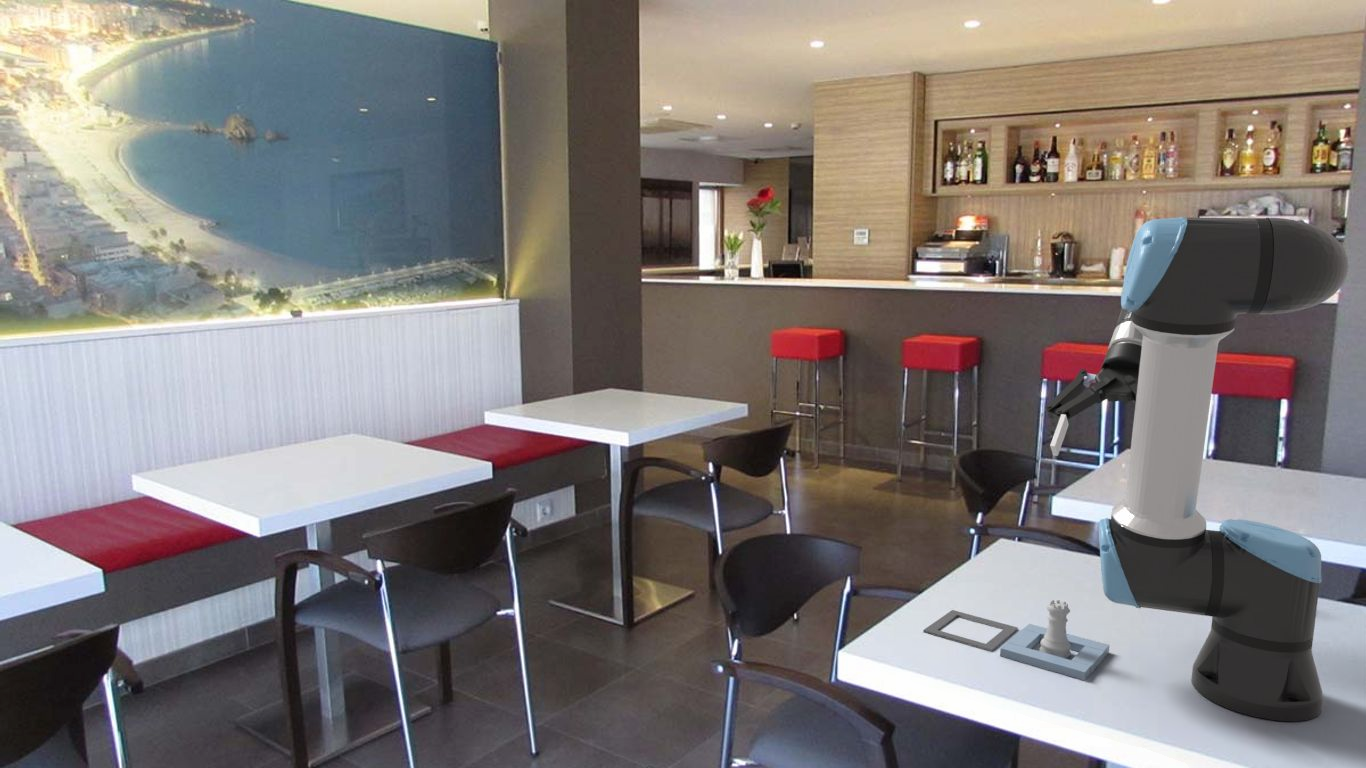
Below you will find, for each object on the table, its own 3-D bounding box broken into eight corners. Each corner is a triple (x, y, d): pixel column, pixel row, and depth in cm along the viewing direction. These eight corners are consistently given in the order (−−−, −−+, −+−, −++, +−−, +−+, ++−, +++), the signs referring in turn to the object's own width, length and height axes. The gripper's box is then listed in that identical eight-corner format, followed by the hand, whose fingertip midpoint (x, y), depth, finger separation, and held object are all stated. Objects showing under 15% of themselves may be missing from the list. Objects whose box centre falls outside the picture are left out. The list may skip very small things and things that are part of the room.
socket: (1109, 652, 138) (1109, 644, 138) (1084, 680, 129) (1085, 672, 129) (1028, 630, 146) (1028, 623, 146) (999, 655, 137) (1000, 648, 137)
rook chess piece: (1052, 662, 135) (1056, 610, 134) (1032, 649, 139) (1036, 599, 138) (1077, 658, 136) (1081, 607, 135) (1057, 646, 140) (1061, 596, 139)
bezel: (1018, 629, 147) (1018, 627, 146) (991, 651, 138) (991, 649, 138) (952, 611, 153) (952, 609, 153) (923, 631, 145) (923, 630, 145)
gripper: (1217, 376, 149) (1188, 484, 139) (1059, 363, 164) (1023, 458, 155) (1214, 346, 144) (1183, 455, 135) (1051, 335, 160) (1014, 432, 150)
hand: (1097, 457), depth 145 cm, fingers open, 13 cm apart
